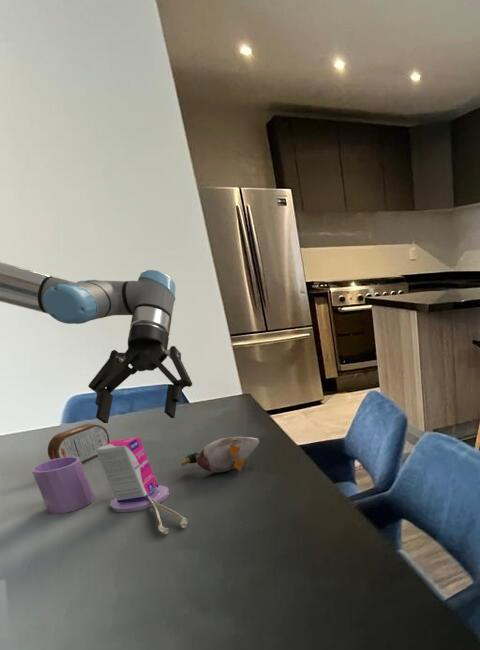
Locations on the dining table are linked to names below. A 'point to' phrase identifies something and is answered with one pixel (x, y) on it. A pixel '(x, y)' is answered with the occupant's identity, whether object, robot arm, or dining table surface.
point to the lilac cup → (63, 484)
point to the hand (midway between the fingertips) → (135, 417)
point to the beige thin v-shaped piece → (171, 512)
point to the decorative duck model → (224, 454)
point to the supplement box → (127, 469)
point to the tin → (78, 442)
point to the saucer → (141, 501)
